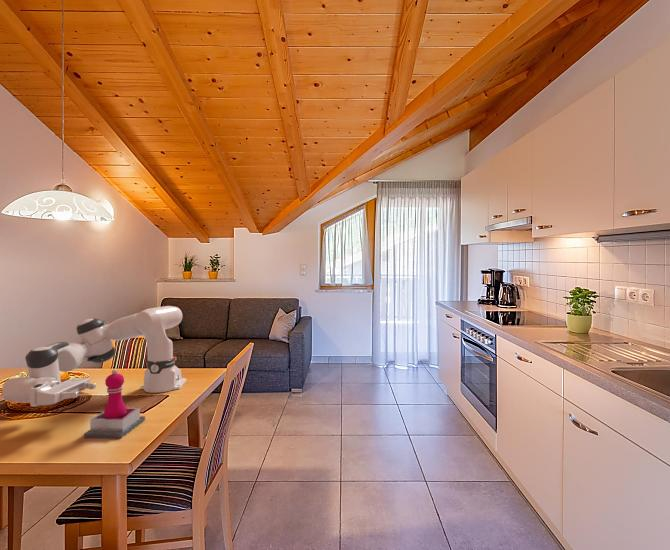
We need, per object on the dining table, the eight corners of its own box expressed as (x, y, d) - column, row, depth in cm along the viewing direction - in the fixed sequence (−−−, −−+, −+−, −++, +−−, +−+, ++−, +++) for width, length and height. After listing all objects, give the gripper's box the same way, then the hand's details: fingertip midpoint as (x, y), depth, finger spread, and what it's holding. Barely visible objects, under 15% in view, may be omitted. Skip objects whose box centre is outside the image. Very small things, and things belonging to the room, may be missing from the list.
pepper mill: (116, 419, 151) (115, 366, 150) (131, 422, 148) (130, 368, 148) (99, 427, 144) (98, 371, 144) (114, 429, 142) (113, 373, 141)
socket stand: (111, 419, 155) (111, 405, 155) (145, 420, 154) (144, 406, 154) (84, 437, 139) (83, 422, 139) (121, 438, 138) (120, 422, 138)
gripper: (69, 389, 157) (103, 390, 157) (27, 408, 137) (67, 409, 136) (68, 373, 157) (103, 373, 157) (26, 390, 137) (66, 390, 136)
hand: (86, 390), depth 146 cm, fingers open, 8 cm apart
